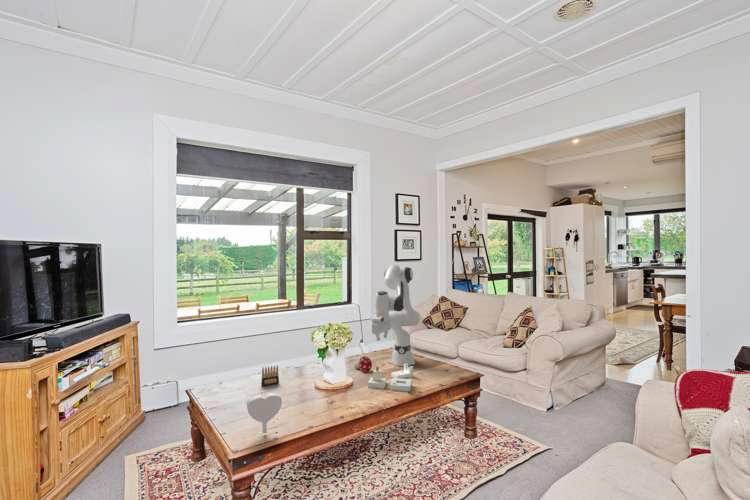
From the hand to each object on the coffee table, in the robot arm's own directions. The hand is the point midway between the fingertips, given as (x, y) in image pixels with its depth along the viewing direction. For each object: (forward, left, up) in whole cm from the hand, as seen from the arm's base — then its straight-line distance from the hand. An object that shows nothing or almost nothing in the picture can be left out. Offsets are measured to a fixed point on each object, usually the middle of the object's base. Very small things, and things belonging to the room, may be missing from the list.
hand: (381, 339), depth 239 cm
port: (+4, +13, -29) cm, 32 cm away
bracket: (-15, +11, -30) cm, 35 cm away
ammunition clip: (+15, -69, -29) cm, 77 cm away
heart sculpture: (+71, -44, -29) cm, 89 cm away
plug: (+4, -2, -28) cm, 28 cm away
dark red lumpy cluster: (-23, -18, -29) cm, 41 cm away
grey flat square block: (+4, -2, -29) cm, 29 cm away
